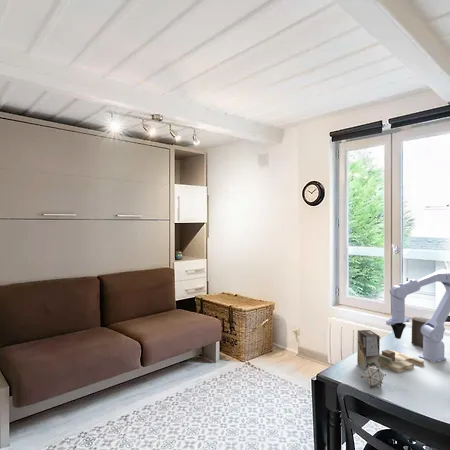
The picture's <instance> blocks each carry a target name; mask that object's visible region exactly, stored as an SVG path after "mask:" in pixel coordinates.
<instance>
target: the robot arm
mask: <svg viewBox="0 0 450 450" xmlns="http://www.w3.org/2000/svg"><path fill="white" fill-rule="evenodd" d="M435 282H436V283H437V282H440V283H441V284H442V285H443V286H444V288H445V292H444V293H443V296H442V298H441V300H440V302H439V303H438V306H437V307H436V309H435V311H434V312H433V315H432V316H431V318H428V319H429V320H427V322H426V323H425V324H424V325H423V326H422V327H421V333H422V334H423V347H422V354H419V356H418V357H419V358H422V359H425V360H427V361H430V362H433V363H436V362H440V361H444V360H447V357H445V343H444V341H442V340H444V334H445V333H444V332H445V331H446V328H445V325H444V324H445V322H446V321H447V319H448V317H449V315H450V270H448V269H446V268H442V269H440V270H435V272H433V273H431V274H428V275H426V276H424V277H422V278H420V279H418V280H417V279H412V278H410V279H408V281H406V282H404V283H402V282H401V283H399V285H397V284H395V285H393V286H392V287H391V288H390V290H389V294H390V295H391V317H389V319H388V320H387V319H386V320H385V325H386V326H389V327H391V329H392V331H393V334H394V338H395V339H397V340H400V339H401V338H402V335H403V332H404V331H405V330H404V329H405V328H406V327H407V324H406V323H410V317H405V315H406V314H405V312H406V311H405V310H406V309H405V308H406V303H405V302H406V298H407V296H408V295H411V294H413V293H416V292H419V291H420V290H421V288H422V287H424V286H427V285H430V284H433V283H435Z"/></svg>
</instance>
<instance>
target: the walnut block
mask: <svg viewBox="0 0 450 450" xmlns="http://www.w3.org/2000/svg"><path fill="white" fill-rule="evenodd" d="M381 353H382V355H384V356H386V357H389V358H391V359H392V362H393V361H395V352H393V351H391V349H384V350H381Z"/></svg>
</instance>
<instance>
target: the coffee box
mask: <svg viewBox="0 0 450 450" xmlns="http://www.w3.org/2000/svg"><path fill="white" fill-rule="evenodd" d="M380 340H381V338H380V335H378V334H377V333H376V332H374V331H372V330H370V329H360V330H357V357H356V358H357V366H358V367H359V368H360V369H362V370H363V371H364V372H365V369H366V368H367V367H371V366H375V364H376V367H377V368H378V369H379V370H380V365H379V353H380ZM366 366H367V367H366Z"/></svg>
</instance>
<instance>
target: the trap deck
mask: <svg viewBox="0 0 450 450" xmlns="http://www.w3.org/2000/svg"><path fill="white" fill-rule="evenodd" d="M390 351H393V352H395V361H393V362H392V359H391V358H389V357H386V356H384V355H382V352H379V366H381V367H383V368H386V369H387V370H391V371H392V372H395V373H403V372H406V371H410V370H413V369H415V365H416V366H419V367H424V366H425V362H424V360H421V359H419V358H417V357H416V358H415V357H412V356H411V355H408V354H405V353H403V352H400V351H397V350H391V349H390Z"/></svg>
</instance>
